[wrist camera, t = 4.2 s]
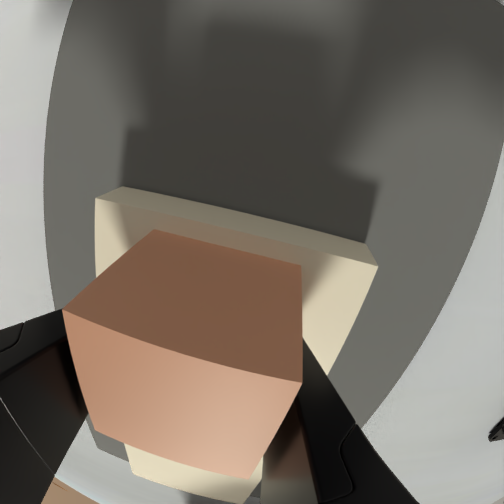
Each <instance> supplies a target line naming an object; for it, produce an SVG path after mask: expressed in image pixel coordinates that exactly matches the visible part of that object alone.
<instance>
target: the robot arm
mask: <svg viewBox="0 0 504 504" xmlns="http://www.w3.org/2000/svg"><path fill="white" fill-rule="evenodd" d="M62 309H63V308H62ZM62 309H59V310H56V311H53V312H51V313H48V314H45V315H42V316H39V317H36V318H33V319H31V320H28V321H25V323H23V322H22V323H19V324H16V325H14V326H11V327H8V328H5V329H2V330H0V504H41V502H42V500H43V498H44V496H45V494H46V492H47V490H48V488H49V486H50V484H51V482H52V480H53V478H54V476H55V475H54V474H56V472H57V470H58V468H59V466H60V464H61V462H62V461H63V459H64V457H65V455H66V453H67V451H68V449H69V448H70V446H71V444H72V442H73V440H74V438H75V437H76V435H77V433H78V431H79V429H80V428H81V426H82V424H83V422H84V421H85V419H86V417H87V415H88V414H89V412H88V409H87V406H86V403H85V400H84V397H83V394H82V391H81V387H80V384H79V381H78V377H77V374H76V370H75V366H74V362H73V358H72V354H71V350H70V346H69V342H68V337H67V333H66V328H65V323H64V317H63V312H62ZM488 438H489V441H490V442H492V441H497V440H502V439H504V420H503V421H502V423H501V424H500V425H499V426H498V427H497V428H496V429H495V430H494V431H493V432H492V433H491V434H490V435H489V436H488ZM260 504H419V503H418V502H417V501H416V500H415V498H414V497H413V496H412V495H411V494H410V493H409V491H408V490H407V489H406V488H405V487H404V485H403V484H402V483H401V482H400V481H399V479H398V478H397V477H396V476H395V475H394V473H393V472H392V471H391V470H390V469H389V467H388V466H387V465H386V464H385V462H384V461H383V460H382V458H381V457H380V456H379V455H378V453H377V452H376V451H375V449H374V448H373V446H372V445H371V443H370V442H369V440H368V439H367V437H366V436H365V434H364V433H363V431H362V430H361V428H360V427H359V425H358V424H356V421H355V419H354V417H353V416H352V414H351V413H350V411H349V410H348V408H347V406H346V405H345V403H344V402H343V400H342V398H341V397H340V395H339V394H338V392H337V391H336V389H335V387H334V386H333V384H332V383H331V381H330V380H329V378H328V376H327V375H326V373H325V372H324V370H323V368H322V367H321V365H320V364H319V362H318V361H317V359H316V357H315V356H314V354H313V353H312V351H311V350H310V348H309V346H308V345H307V343H306V342H305V340H304V338H303V375H302V385H301V387H300V389H299V391H298V393H297V395H296V397H295V399H294V401H293V403H292V404H291V406H290V408H289V410H288V412H287V414H286V416H285V418H284V420H283V421H282V423H281V425H280V427H279V429H278V431H277V432H276V434H275V436H274V438H273V439H272V441H271V443H270V445H269V446H268V448H267V450H266V452H265V453H264V455H263V466H262V481H261V496H260Z"/></svg>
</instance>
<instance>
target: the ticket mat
mask: <svg viewBox="0 0 504 504" xmlns="http://www.w3.org/2000/svg"><path fill="white" fill-rule="evenodd" d="M503 142H504V6H503V5H502V4H500V3H499V2H498V1H496V0H73V2H72V5H71V9H70V12H69V15H68V18H67V22H66V25H65V29H64V32H63V36H62V40H61V44H60V48H59V52H58V57H57V61H56V66H55V71H54V76H53V82H52V88H51V94H50V101H49V108H48V117H47V126H46V138H45V153H44V221H45V237H46V249H47V258H48V267H49V275H50V282H51V289H52V295H53V301H54V306H55V311H56V310H59V309H62V308H64V307H65V306H66V305H67V304H68V303H69V302H70V301H71V300H72V299H73V298H75V297H76V296H77V295H78V294H79V293H80V292H81V291H82V290H83V289H84V288H85V287H87V286H88V285H89V284H90V283H91V282H92V281H93V280H94V279H95V278H96V266H95V198H97V197H99V196H101V195H103V194H106V193H108V192H110V191H112V190H115V189H117V188H119V187H122V186H124V187H129V188H134V189H139V190H144V191H149V192H154V193H158V194H163V195H168V196H172V197H177V198H182V199H186V200H191V201H195V202H200V203H204V204H209V205H213V206H218V207H222V208H226V209H231V210H235V211H239V212H243V213H248V214H252V215H256V216H260V217H264V218H268V219H272V220H276V221H280V222H284V223H288V224H292V225H296V226H300V227H304V228H308V229H312V230H316V231H320V232H324V233H327V234H331V235H335V236H339V237H342V238H346V239H350V240H353V241H357V242H361V243H364V244H366V245H367V247H368V248H369V250H370V252H371V254H372V256H373V257H374V259H375V261H376V263H377V265H378V269H377V271H376V274H375V276H374V279H373V281H372V283H371V286H370V288H369V290H368V293H367V295H366V297H365V300H364V302H363V304H362V306H361V308H360V311H359V313H358V315H357V317H356V319H355V322H354V324H353V326H352V328H351V330H350V332H349V334H348V336H347V338H346V340H345V342H344V344H343V346H342V348H341V350H340V352H339V354H338V356H337V358H336V360H335V362H334V364H333V366H332V368H331V369H330V371H329V373H328V375H327V376H328V378H329V380H330V381H331V383H332V384H333V386H334V387H335V389H336V391H337V392H338V394H339V395H340V397H341V398H342V400H343V402H344V403H345V405H346V406H347V408H348V410H349V411H350V413H351V414H352V416H353V417H354V419H355V421H356V424H358V425H359V427H360V428H362V427H363V426H364V425H365V423H366V422H367V421H368V420H369V418H370V417H371V416H372V415H373V413H374V412H375V411H376V410H377V408H378V407H379V406H380V404H381V403H382V402H383V401H384V399H385V398H386V397H387V395H388V394H389V392H390V391H391V390H392V388H393V387H394V386H395V384H396V383H397V381H398V380H399V378H400V377H401V375H402V374H403V373H404V371H405V370H406V368H407V367H408V365H409V364H410V362H411V360H412V359H413V357H414V356H415V354H416V353H417V351H418V349H419V348H420V346H421V345H422V343H423V341H424V340H425V338H426V336H427V335H428V333H429V331H430V329H431V328H432V326H433V324H434V322H435V321H436V319H437V317H438V315H439V313H440V311H441V310H442V308H443V306H444V304H445V302H446V300H447V298H448V296H449V294H450V292H451V290H452V288H453V286H454V284H455V282H456V280H457V278H458V275H459V273H460V271H461V269H462V267H463V264H464V262H465V260H466V258H467V255H468V253H469V250H470V248H471V246H472V243H473V241H474V238H475V235H476V233H477V230H478V228H479V225H480V222H481V219H482V216H483V214H484V211H485V208H486V205H487V202H488V198H489V195H490V192H491V189H492V185H493V182H494V178H495V175H496V171H497V167H498V163H499V159H500V155H501V151H502V146H503ZM86 421H87V423H88V426H89V428H90V431H91V433H92V436H93V438H94V440H95V443H96V445H97V447H98V449H101V450H103V451H105V452H107V453H109V454H112V455H114V456H116V457H119V458H121V459H123V460H126V461H128V462H130V466H131V469H132V472H133V474H135V475H137V476H140V477H143V478H145V479H148V480H151V481H154V482H157V483H159V484H162V485H166V486H169V487H172V488H175V489H178V490H182V491H185V492H189V493H192V494H196V495H200V496H204V497H208V498H212V499H217V500H221V501H226V502H231V503H236V504H243V503H244V502H245V501H246V499H247V498H248V497H249V496H253V497H260V496H261V481H262V466H263V457H262V458H261V460H260V462H259V463H258V465H257V467H256V468H255V470H254V472H253V473H252V475H251V476H250V478H249V480H248V479H243V478H237V477H233V476H228V475H223V474H219V473H215V472H211V471H207V470H203V469H199V468H195V467H192V466H188V465H185V464H181V463H178V462H175V461H172V460H169V459H166V458H163V457H160V456H157V455H154V454H151V453H148V452H146V451H143V450H140V449H138V448H135V447H132V446H130V445H127V444H125V443H123V442H120V441H118V440H115V439H113V438H111V437H109V436H106V435H104V434H102V433H100V432H98V431H96V430H95V429H94V426H93V423H92V421H91V418H90V415H89V414H88V415H87V417H86Z"/></svg>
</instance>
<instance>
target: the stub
mask: <svg viewBox="0 0 504 504" xmlns="http://www.w3.org/2000/svg"><path fill="white" fill-rule="evenodd" d="M95 266H96V278H95V279H94V280H93V281H92V282H91V283H90V284H89V285H88V286H87V287H85V288H84V289H83V290H82V291H81V292H80V293H79V294H78V295H77V296H76V297H75V298H73V299H72V300H71V301H70V302H69V303H68V304H67V305H66V306H65V307H64V308H63V309H62V312H63V317H64V323H65V328H66V333H67V337H68V342H69V346H70V350H71V354H72V358H73V362H74V366H75V370H76V374H77V377H78V381H79V384H80V387H81V391H82V394H83V397H84V400H85V403H86V406H87V409H88V412H89V415H90V418H91V421H92V423H93V426H94V429H95V430H96V431H98V432H100V433H102V434H104V435H106V436H109V437H111V438H113V439H115V440H118V441H120V442H123V443H125V444H127V445H130V446H132V447H135V448H138V449H140V450H143V451H146V452H148V453H151V454H154V455H157V456H160V457H163V458H166V459H169V460H172V461H175V462H178V463H181V464H185V465H188V466H192V467H195V468H199V469H203V470H207V471H211V472H215V473H219V474H223V475H228V476H233V477H237V478H243V479H248V480H249V478H250V476H251V475H252V473H253V472H254V470H255V468H256V467H257V465H258V463H259V462H260V460H261V458H262V457H263V455H264V453H265V452H266V450H267V448H268V446H269V445H270V443H271V441H272V439H273V438H274V436H275V434H276V432H277V431H278V429H279V427H280V425H281V423H282V421H283V420H284V418H285V416H286V414H287V412H288V410H289V408H290V406H291V404H292V403H293V401H294V399H295V397H296V395H297V393H298V391H299V389H300V387H301V385H302V375H303V338H304V340H305V342H306V343H307V345H308V346H309V348H310V350H311V351H312V353H313V354H314V356H315V357H316V359H317V361H318V362H319V364H320V365H321V367H322V368H323V370H324V372H325V373H326V375H328V373H329V371H330V369H331V368H332V366H333V364H334V362H335V360H336V358H337V356H338V354H339V352H340V350H341V348H342V346H343V344H344V342H345V340H346V338H347V336H348V334H349V332H350V330H351V328H352V326H353V324H354V322H355V319H356V317H357V315H358V313H359V311H360V308H361V306H362V304H363V302H364V300H365V297H366V295H367V293H368V290H369V288H370V286H371V283H372V281H373V279H374V276H375V274H376V271H377V269H378V265H377V263H376V261H375V259H374V257H373V256H372V254H371V252H370V250H369V248H368V247H367V245H366V244H364V243H361V242H357V241H353V240H350V239H346V238H342V237H339V236H335V235H331V234H327V233H324V232H320V231H316V230H312V229H308V228H304V227H300V226H296V225H292V224H288V223H284V222H280V221H276V220H272V219H268V218H264V217H260V216H256V215H252V214H248V213H243V212H239V211H235V210H231V209H226V208H222V207H218V206H213V205H209V204H204V203H200V202H195V201H191V200H186V199H182V198H177V197H172V196H168V195H163V194H158V193H154V192H149V191H144V190H139V189H134V188H129V187H124V186H122V187H119V188H117V189H115V190H112V191H110V192H108V193H106V194H103V195H101V196H99V197H97V198H95Z"/></svg>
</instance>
